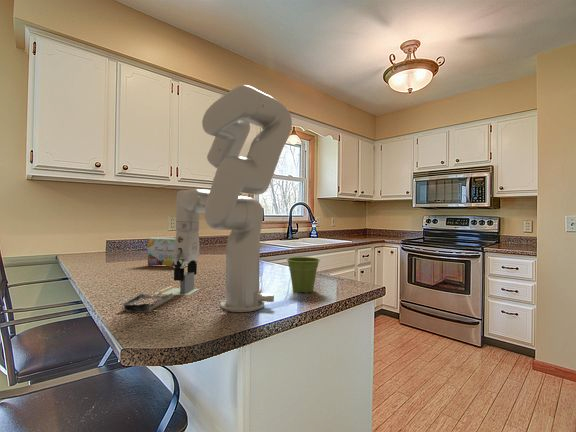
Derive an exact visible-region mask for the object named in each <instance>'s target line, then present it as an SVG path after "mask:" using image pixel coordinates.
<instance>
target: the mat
mask: <svg viewBox="0 0 576 432" xmlns="http://www.w3.org/2000/svg"><path fill="white" fill-rule="evenodd" d="M199 290H200V288H194V290H192V291H190V292H188V293H186V294H180V287H174V285H170V286H167V287H165V288H163V289H160V290H158V291H157V292H154V293H153V295H170V294H171V293H172V296H176V295H177V296H189V295H192V294H194V293H195V292H197V291H199Z"/></svg>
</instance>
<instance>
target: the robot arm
mask: <svg viewBox="0 0 576 432" xmlns="http://www.w3.org/2000/svg"><path fill="white" fill-rule="evenodd" d="M292 122H293V121H292V116H291V113H290V111H289V109H288V107H286V106H285V105H284V104H283V103H282V102H281V101H279V100H278V99H276V98H275V97H273V96H271V95H269V94H266V93H265V92H262V91H261V90H258V89H257V88H255V87H253V86H251V85H248V84H247V85H246V84H242V85H238V86H236V87H234V88H232V89H231V90H230V91H228V92H227V93H226V94H224V95H223V96H221V97H220V98H218V99H216V100H215V102H213V103H212V104H211V105H210V106H209V107H207V109H206V110H205V112H204V115H203V117H202V121H201V123H202V129H203V131H204V133H205V134H207V135H209V136H213V137H214V139H213V141H212V144H211V146H210V149H209V150H208V153H207V154H206V155H207V157H206V159H207V161H208V163H209V164H210V165H211V166H212V167H214V168H215V169H216V171H215V173H214V176H213V180H212V184H211V186H210V189H200V188H193V189H188V190H187V189H185V190H183V189H182V190H178V192H177V193H176V205H175V206H176V207H175V208H176V209H175V210H176V211H175V214H176V215H175V231H176V234H175V238H176V239H175V249H174V255H173V256H172V259H173V265H174V267H173V280H174V281H179V282H180V281H183V280H184V274H185V267H184V264H185V261H187V262H189V263H188V266H187V272H186V273H188V272H194V276H195V275H197V273H198V272H197V271H198V269H197V268H198V259H199V258H200V234H199V231H200V214H204V220H205V222H206V224H207V226H208V227H210V228H211V229H214V230H218V231H230V233H229V236H228V238H227V241H226V245H225V246H226V248H225V249H226V252H225V254H226V255H225V258H226V261H225V266H226V267H225V299H223V300H221V301H220V304H219V307H220V308H222V309H223V310H226V311H227V312H230V313H248V312H253V311H254V312H255V311H257V310H258V311H259V310H261V309H262V308H264V307H265V302H268V303H274V301H275V295H273V294H272V293H264V292H262V291H263V289H262V288H260V248H261V246H260V245H261V231H262V227H263V226H262V225H263V220H264V209H263V206H262V205H261V203H260V202H259V201H258V200H257V199H255V198H254V197H252V196H251V197H250V196H243V195H240V194H245V195H255V196H257V195H263V194H264V193H266V192H267V190H268V188H269V186H270V185H271V182H272V179H273V177H274V173H275V172H276V168H277V165H278V164H279V160H280V157H281V154H282V152H283V149H284V147H285V145H286V143H287V141H288V139H289V137H290V135H291V131H292V127H293V126H292V125H293V123H292ZM250 124H252V125H255V126H257V127H260V128H261V129H262V130H261V131H260V132H259V133H258V134H256V136H255V137H254V138H253V140H252V141H251V144H250V147H249V150H248V153H247V155H246V156H245V157H244V156H240V153H241V152H242V149H243V147H244V144H245V142H246V140H247V138H248V136H249V134H250V131H251V125H250ZM180 262H182V263H180ZM183 267H184V268H183Z"/></svg>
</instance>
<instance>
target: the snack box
mask: <svg viewBox="0 0 576 432" xmlns="http://www.w3.org/2000/svg"><path fill="white" fill-rule="evenodd" d="M175 239H176V237H148V238H147V266H148V265H166V266H174V265H173V259H172V256H173V255H174V249H175ZM180 263H182V262H180ZM188 263H189V262H187V261H185V264H184V266H186V265H188Z"/></svg>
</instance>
